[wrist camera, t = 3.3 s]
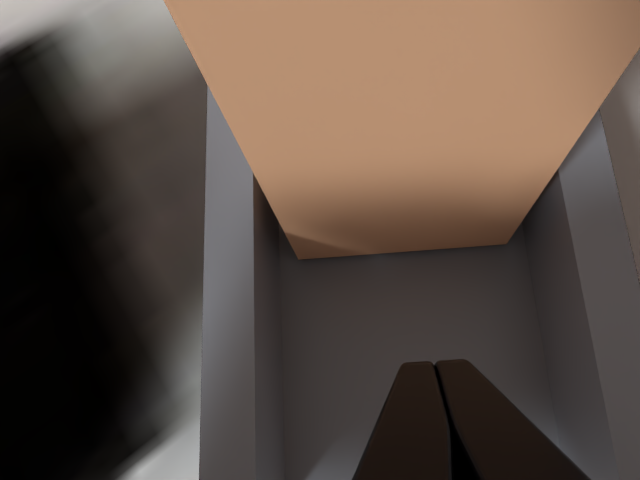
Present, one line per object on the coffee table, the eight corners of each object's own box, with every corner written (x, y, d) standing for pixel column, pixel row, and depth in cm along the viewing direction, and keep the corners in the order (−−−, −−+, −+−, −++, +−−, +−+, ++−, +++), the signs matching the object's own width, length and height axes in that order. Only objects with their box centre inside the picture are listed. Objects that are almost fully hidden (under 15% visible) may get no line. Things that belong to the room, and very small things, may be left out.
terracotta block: (506, 244, 13) (801, -191, 4) (298, 259, 14) (112, -98, 4) (478, 65, 15) (639, -551, 6) (292, 84, 15) (146, -458, 6)
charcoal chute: (600, 487, 13) (692, 515, 9) (250, 501, 13) (198, 530, 10) (499, -53, 18) (531, -184, 14) (247, -23, 18) (211, -140, 14)
